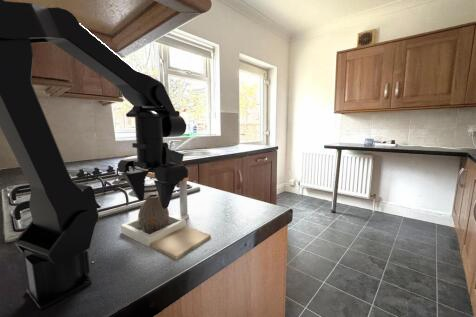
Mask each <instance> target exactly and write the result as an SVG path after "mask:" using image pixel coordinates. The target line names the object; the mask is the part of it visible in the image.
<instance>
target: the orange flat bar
mask: <svg viewBox="0 0 476 317" xmlns="http://www.w3.org/2000/svg"><path fill="white" fill-rule="evenodd" d="M146 177H148V178H155V179H156V177H155V173H151V172H149V173H148V174H147V176H146ZM146 177H145V178H146ZM186 181H187V182H189V176H188V177H187V178H184V180H183V181H180V182H186Z"/></svg>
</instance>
